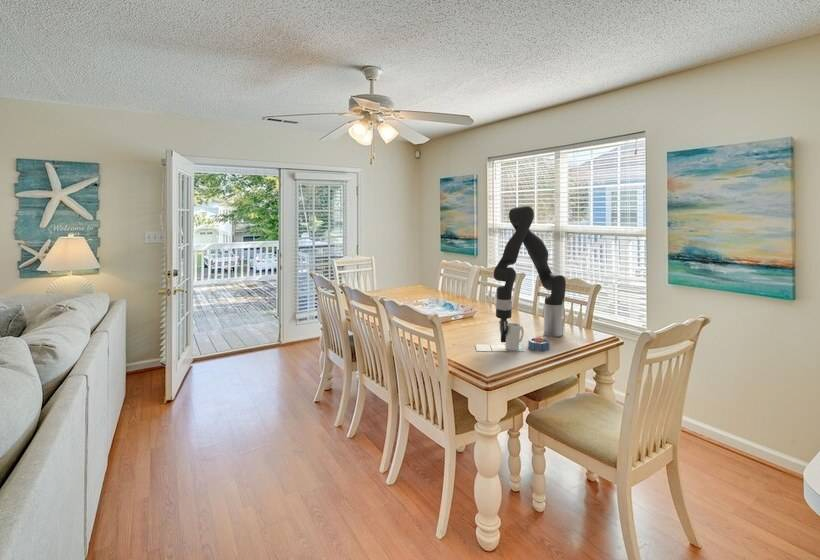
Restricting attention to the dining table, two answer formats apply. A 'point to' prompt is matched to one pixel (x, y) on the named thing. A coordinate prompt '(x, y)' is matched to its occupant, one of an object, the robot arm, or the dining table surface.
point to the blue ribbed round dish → (538, 345)
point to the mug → (513, 336)
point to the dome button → (539, 340)
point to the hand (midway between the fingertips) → (503, 342)
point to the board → (495, 348)
